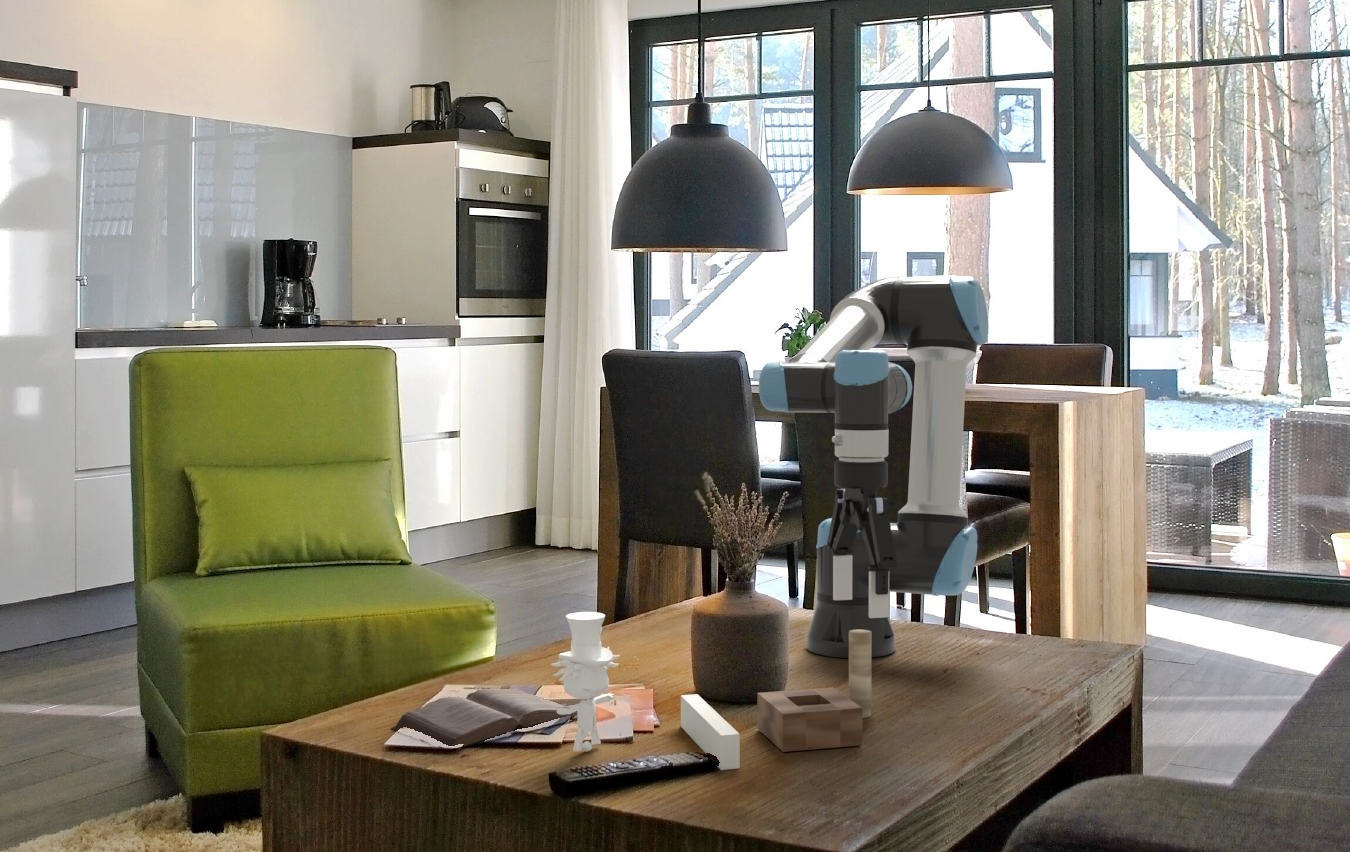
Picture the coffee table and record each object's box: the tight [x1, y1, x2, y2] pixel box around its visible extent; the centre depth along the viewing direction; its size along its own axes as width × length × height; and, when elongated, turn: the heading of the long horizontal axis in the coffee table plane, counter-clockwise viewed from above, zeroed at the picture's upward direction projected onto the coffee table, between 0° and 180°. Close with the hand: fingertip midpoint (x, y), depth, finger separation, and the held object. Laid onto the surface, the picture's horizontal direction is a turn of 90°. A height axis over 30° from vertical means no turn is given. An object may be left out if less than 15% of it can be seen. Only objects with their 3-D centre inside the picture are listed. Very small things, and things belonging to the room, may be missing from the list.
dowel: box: [848, 629, 872, 719], centre depth 200 cm, size 3×3×12 cm
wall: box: [680, 693, 741, 771], centre depth 186 cm, size 20×2×4 cm, turn 14°
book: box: [389, 688, 578, 748], centre depth 198 cm, size 20×28×4 cm
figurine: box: [550, 611, 621, 753], centre depth 183 cm, size 10×8×18 cm
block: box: [756, 686, 863, 753], centre depth 189 cm, size 11×11×5 cm
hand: (860, 608), depth 199 cm, fingers open, 13 cm apart
